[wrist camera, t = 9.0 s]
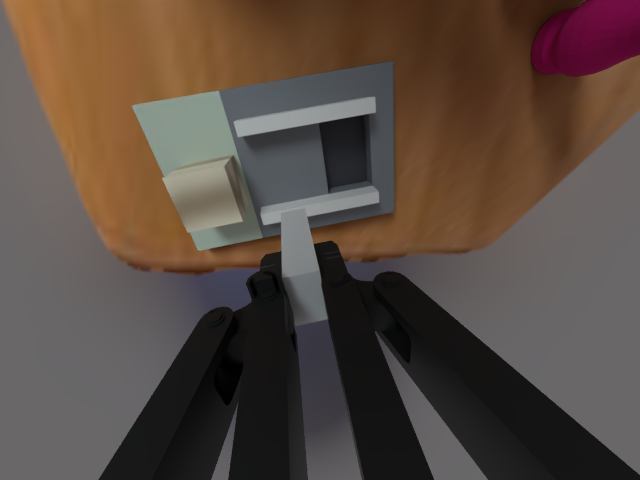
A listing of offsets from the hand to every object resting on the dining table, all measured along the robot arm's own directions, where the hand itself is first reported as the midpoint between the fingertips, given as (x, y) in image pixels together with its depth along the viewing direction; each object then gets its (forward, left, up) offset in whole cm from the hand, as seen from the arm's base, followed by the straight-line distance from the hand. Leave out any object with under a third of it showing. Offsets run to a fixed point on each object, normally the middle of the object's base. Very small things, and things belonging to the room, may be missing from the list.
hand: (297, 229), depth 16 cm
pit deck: (0, -1, -20) cm, 20 cm away
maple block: (+1, -9, -18) cm, 20 cm away
